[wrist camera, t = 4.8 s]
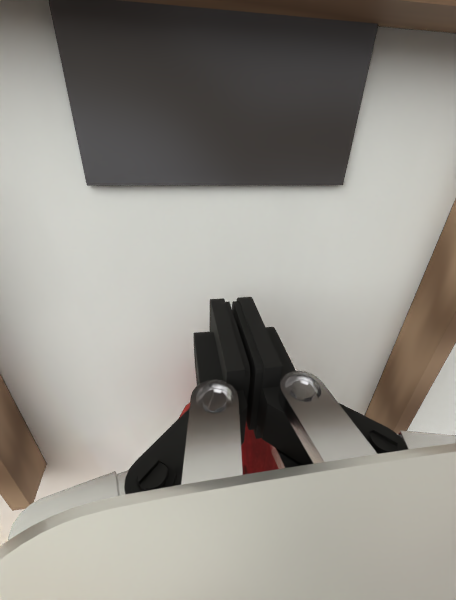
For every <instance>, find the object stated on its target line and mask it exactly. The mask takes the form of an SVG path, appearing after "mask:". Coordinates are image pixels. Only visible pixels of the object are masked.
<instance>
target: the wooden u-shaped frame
mask: <svg viewBox="0 0 456 600" xmlns="http://www.w3.org/2000/svg"><path fill="white" fill-rule="evenodd" d="M49 5H50V10H51V14H52V19H53V24H54V29H55V34H56V38H57V43H58V48H59V53H60V58H61V63H62V67H63V72H64V77H65V82H66V87H67V91H68V96H69V101H70V106H71V111H72V116H73V120H74V125H75V130H76V135H77V140H78V144H79V149H80V154H81V159H82V164H83V169H84V173H85V178H86V183H87V185H343V182H344V177H345V173H346V168H347V164H348V159H349V155H350V150H351V146H352V141H353V137H354V132H355V128H356V123H357V119H358V114H359V110H360V105H361V100H362V96H363V91H364V87H365V82H366V78H367V73H368V69H369V64H370V60H371V55H372V51H373V46H374V42H375V37H376V33H377V28H378V26H380V27H392V28H403V29H414V30H426V31H437V32H448V33H456V0H49ZM455 343H456V200H455V202H454V204H453V207H452V209H451V212H450V214H449V216H448V219H447V221H446V223H445V226H444V228H443V231H442V233H441V235H440V238H439V240H438V242H437V245H436V247H435V250H434V252H433V254H432V257H431V259H430V262H429V264H428V266H427V269H426V271H425V273H424V276H423V278H422V281H421V283H420V285H419V288H418V290H417V293H416V295H415V297H414V300H413V302H412V304H411V307H410V309H409V312H408V314H407V316H406V319H405V321H404V324H403V326H402V328H401V331H400V333H399V335H398V338H397V340H396V343H395V345H394V347H393V350H392V352H391V355H390V357H389V359H388V362H387V364H386V366H385V369H384V371H383V374H382V376H381V378H380V381H379V383H378V386H377V388H376V390H375V393H374V395H373V397H372V400H371V402H370V405H369V407H368V409H367V412H366V414H365V416H366V417H368V418H370V419H372V420H374V421H376V422H378V423H380V424H382V425H384V426H386V427H388V428H389V429H391V430H393V431H394V432H395V433H396V434H399V432H400V431H407V429H408V427H409V426H410V424H411V422H412V420H413V418H414V417H415V415H416V413H417V411H418V409H419V408H420V406H421V404H422V402H423V400H424V399H425V397H426V395H427V393H428V391H429V390H430V388H431V386H432V384H433V382H434V381H435V379H436V377H437V375H438V373H439V372H440V370H441V368H442V366H443V364H444V363H445V361H446V359H447V357H448V355H449V354H450V352H451V350H452V348H453V346H454V345H455ZM46 465H47V464H46V462H45V460H44V458H43V456H42V454H41V452H40V451H39V449H38V447H37V445H36V443H35V441H34V439H33V437H32V435H31V433H30V431H29V429H28V427H27V425H26V423H25V421H24V420H23V418H22V416H21V414H20V412H19V410H18V408H17V406H16V404H15V402H14V400H13V398H12V396H11V394H10V392H9V390H8V389H7V387H6V385H5V383H4V381H3V379H2V377H1V375H0V494H1V496H2V497H3V498H4V500H5V501H6V503H7V504H8V505H9V507H10V508H11V509H12V511H13V510H19V509H26V508H27V507H28V506H29V505H30V504H32V503H33V502H34V499H35V496H36V494H37V491H38V488H39V485H40V482H41V479H42V476H43V473H44V471H45V468H46Z"/></svg>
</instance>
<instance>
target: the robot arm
mask: <svg viewBox="0 0 456 600" xmlns="http://www.w3.org/2000/svg"><path fill="white" fill-rule="evenodd" d="M194 356H195V369H196V378H197V386H196V388H195V389H194V390H193V392H192V395H191V401H190V408H189V409H188V410H187V411H186V412H185V413H184V414H183V415H182V416H181V417H180V418H179V419H178V420H177V421H176V422H175V423H174V424H173V425H172V426H171V427H170V428H169V429H168V430H167V431H166V432H165V433H164V434H163V435H162V436H161V437H160V438H159V439H158V440H157V441H156V442H155V443H154V444H153V445H152V446H151V447H150V448H149V449H148V450H147V451H146V452H145V453H144V454H143V455H142V456H141V457H140V458H139V459H138V460H137V461H136V462H135V463H134V464H133V465H132V466H131V468H130V469H129V470H128V471H125V472H122V473H120V474H117V475H116V472H112V473H109V474H107V475H104V476H101V477H98V478H96V479H93V480H90V481H88V482H85V483H82V484H79V485H77V486H74V487H71V488H69V489H66V490H63V491H60V492H58V493H55V494H52V495H50V496H47V497H44V498H41V499H39V500H38V501H36V502H34V503H32V504H30V505H29V506H28V507H27V508H26V509H25V510H24V511H23V512H21V513H20V515H19V516H18V518H17V519H16V521H15V522H14V523H13V525H12V528H11V531H10V534H9V538H8V541H7V542H5V543H4V544H2V545H1V546H0V600H456V435H446V434H434V433H423V432H411V431H400V432H399V434H396V433H395V432H394V431H393V430H391V429H389V428H388V427H386V426H384V425H382V424H380V423H378V422H376V421H374V420H372V419H370V418H368V417H366V416H364V415H362V414H360V413H358V412H356V411H354V410H352V409H350V408H348V407H346V406H344V405H342V404H340V403H338V402H337V401H336V399H335V398H334V397H333V396H332V394H331V393H330V392H329V390H328V389H327V388H326V387H325V385H324V384H323V383H322V382H321V381H320V380H319V379H318V378H317V377H315V376H314V375H312V374H309V373H307V372H302V371H295V369H294V366H293V364H292V362H291V360H290V358H289V356H288V354H287V352H286V350H285V348H284V346H283V344H282V342H281V340H280V338H279V336H278V334H277V332H276V330H275V328H274V327H265V326H264V323H263V321H262V319H261V317H260V314H259V312H258V310H257V308H256V306H255V303H254V301H253V299H252V297H243V298H237V301H235V302H233V303H232V309H231V306H230V303H229V302H225V300H224V299H210V332H200V333H194ZM246 423H247V427H248V429H249V430H254V434H255V438H256V439H259V438H262V439H263V440H264V441H266V442H267V443H269V444H270V449H271V453H272V455H273V457H274V459H275V462H276V464H277V466H278V468H279V469H277V470H270V471H264V472H257V473H251V474H245V475H243V471H242V453H241V445H242V444H243V443H244V437H245V426H246Z"/></svg>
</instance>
